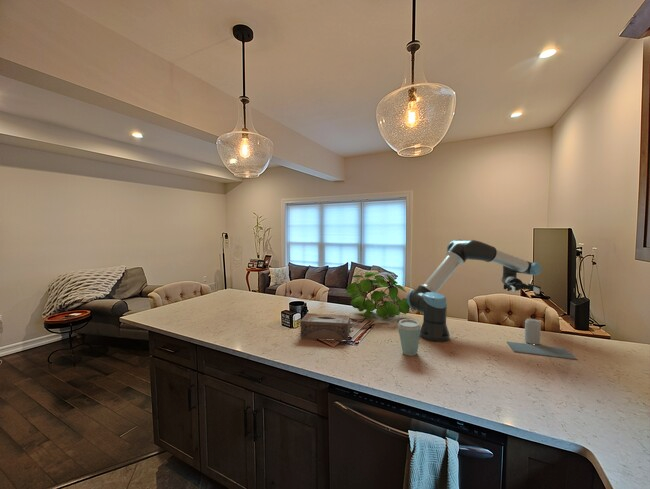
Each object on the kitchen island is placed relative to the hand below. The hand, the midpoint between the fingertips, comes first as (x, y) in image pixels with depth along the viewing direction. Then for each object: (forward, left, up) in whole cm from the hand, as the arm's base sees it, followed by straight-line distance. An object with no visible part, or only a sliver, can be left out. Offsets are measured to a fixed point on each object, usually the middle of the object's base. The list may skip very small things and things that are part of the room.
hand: (526, 290), depth 147 cm
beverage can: (0, -10, -25) cm, 27 cm away
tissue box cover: (-104, -36, -26) cm, 113 cm away
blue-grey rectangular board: (0, -20, -25) cm, 32 cm away
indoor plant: (-84, +12, -25) cm, 88 cm away
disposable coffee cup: (-59, -44, -25) cm, 78 cm away
